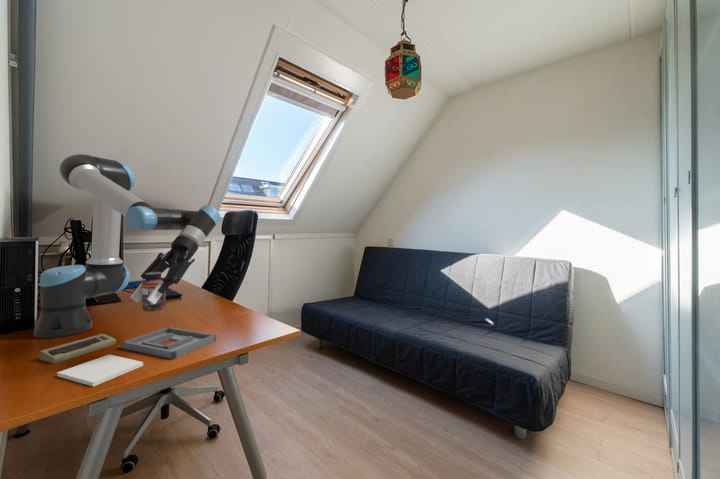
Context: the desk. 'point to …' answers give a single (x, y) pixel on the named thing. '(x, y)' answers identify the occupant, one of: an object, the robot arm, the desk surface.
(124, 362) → the white mat
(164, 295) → the supplement bottle
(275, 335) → the desk surface
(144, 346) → the grey rectangular frame tray
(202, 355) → the desk surface
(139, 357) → the desk surface
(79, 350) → the computer
